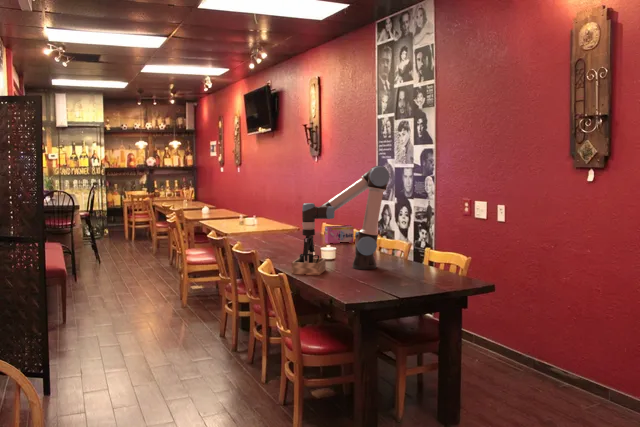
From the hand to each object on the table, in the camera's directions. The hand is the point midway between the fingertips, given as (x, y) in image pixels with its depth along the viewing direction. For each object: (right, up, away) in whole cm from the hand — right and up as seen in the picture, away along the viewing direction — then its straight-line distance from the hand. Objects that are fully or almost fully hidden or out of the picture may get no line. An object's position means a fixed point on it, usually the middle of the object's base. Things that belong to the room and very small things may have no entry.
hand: (308, 264), depth 359 cm
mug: (0, -4, +1) cm, 4 cm away
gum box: (+23, +7, +125) cm, 127 cm away
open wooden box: (0, -5, 0) cm, 5 cm away
